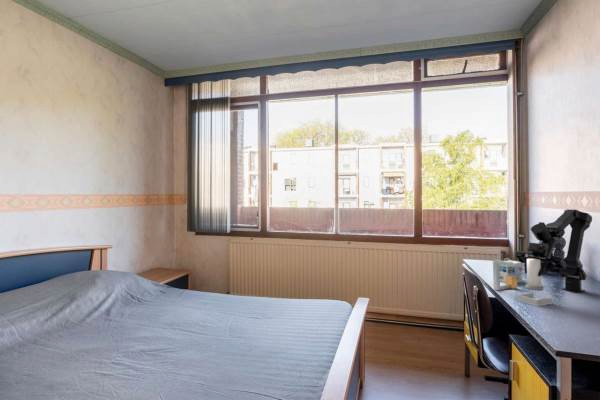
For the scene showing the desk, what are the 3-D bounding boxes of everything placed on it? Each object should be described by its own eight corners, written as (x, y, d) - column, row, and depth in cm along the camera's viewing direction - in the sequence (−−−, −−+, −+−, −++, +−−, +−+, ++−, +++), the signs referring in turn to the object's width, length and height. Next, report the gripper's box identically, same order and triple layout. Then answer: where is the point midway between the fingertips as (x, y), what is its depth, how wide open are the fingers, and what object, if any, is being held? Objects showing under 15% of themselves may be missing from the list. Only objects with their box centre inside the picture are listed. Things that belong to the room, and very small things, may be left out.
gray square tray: (531, 297, 149) (531, 292, 149) (552, 303, 140) (552, 298, 140) (516, 299, 146) (516, 294, 146) (536, 306, 137) (536, 300, 137)
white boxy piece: (510, 286, 167) (510, 257, 167) (535, 293, 154) (534, 262, 154) (491, 288, 163) (491, 259, 163) (515, 296, 151) (514, 264, 151)
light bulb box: (508, 283, 172) (507, 263, 172) (497, 280, 179) (496, 261, 179) (523, 281, 175) (522, 262, 175) (512, 279, 182) (511, 260, 182)
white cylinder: (532, 285, 147) (531, 257, 147) (547, 289, 141) (546, 260, 141) (521, 287, 145) (520, 258, 145) (536, 291, 139) (535, 261, 139)
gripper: (516, 234, 153) (502, 259, 148) (562, 238, 136) (548, 267, 131) (526, 249, 156) (513, 274, 152) (572, 254, 140) (559, 283, 135)
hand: (532, 274), depth 142 cm, fingers closed on white cylinder, 5 cm apart
